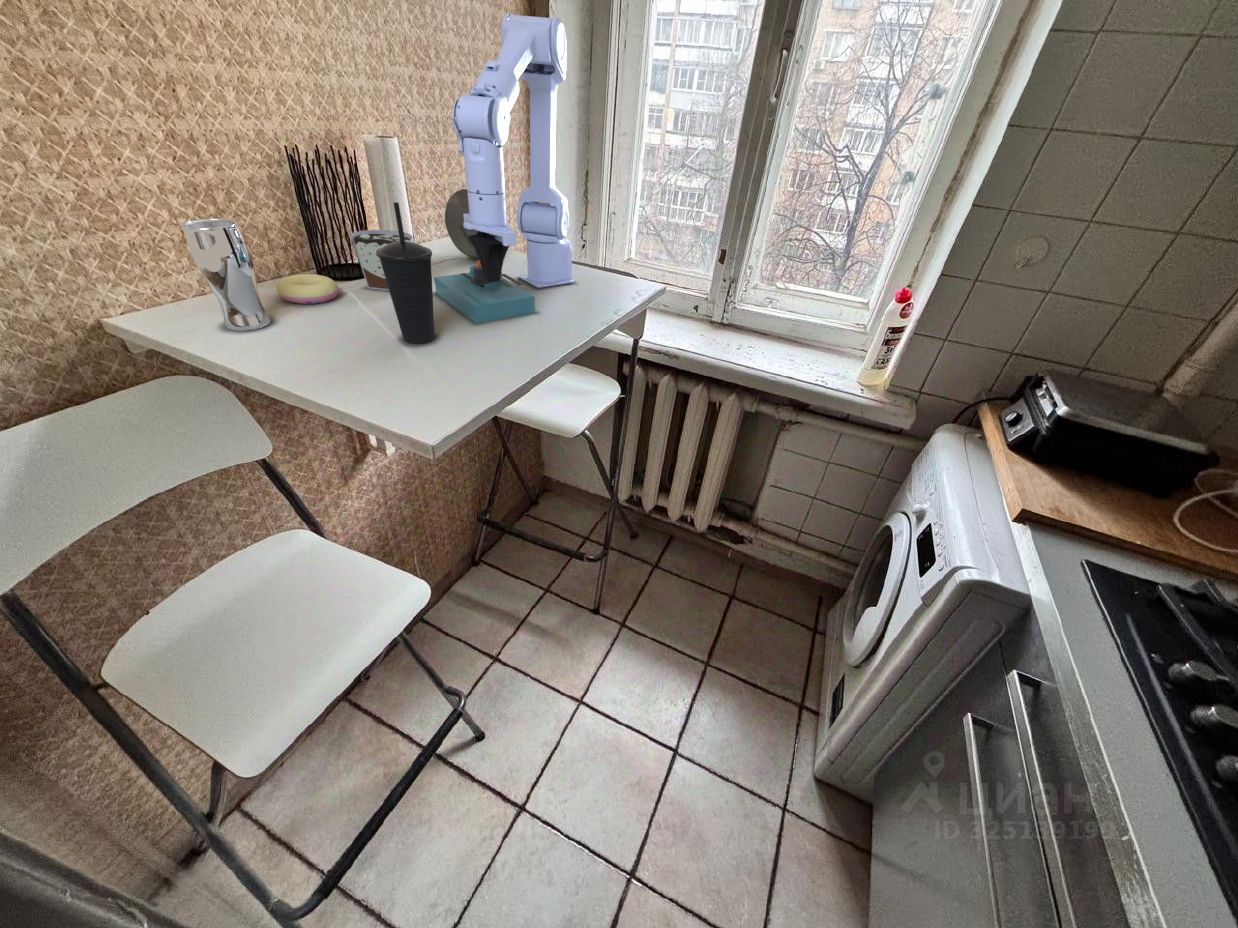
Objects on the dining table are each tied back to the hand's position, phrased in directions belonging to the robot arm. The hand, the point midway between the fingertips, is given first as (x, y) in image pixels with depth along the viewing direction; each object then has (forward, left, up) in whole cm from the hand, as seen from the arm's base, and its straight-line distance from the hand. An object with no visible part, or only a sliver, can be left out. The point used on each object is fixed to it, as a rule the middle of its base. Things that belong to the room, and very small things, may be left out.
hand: (492, 280), depth 84 cm
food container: (+8, -26, -7) cm, 28 cm away
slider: (0, -5, -2) cm, 5 cm away
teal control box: (-3, -10, -7) cm, 12 cm away
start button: (-6, -14, -3) cm, 15 cm away
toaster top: (-3, -7, -2) cm, 8 cm away
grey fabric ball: (-16, -39, -8) cm, 42 cm away
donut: (+24, -26, -7) cm, 36 cm away
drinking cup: (+14, +1, -7) cm, 16 cm away
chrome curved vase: (+35, -17, -7) cm, 40 cm away
